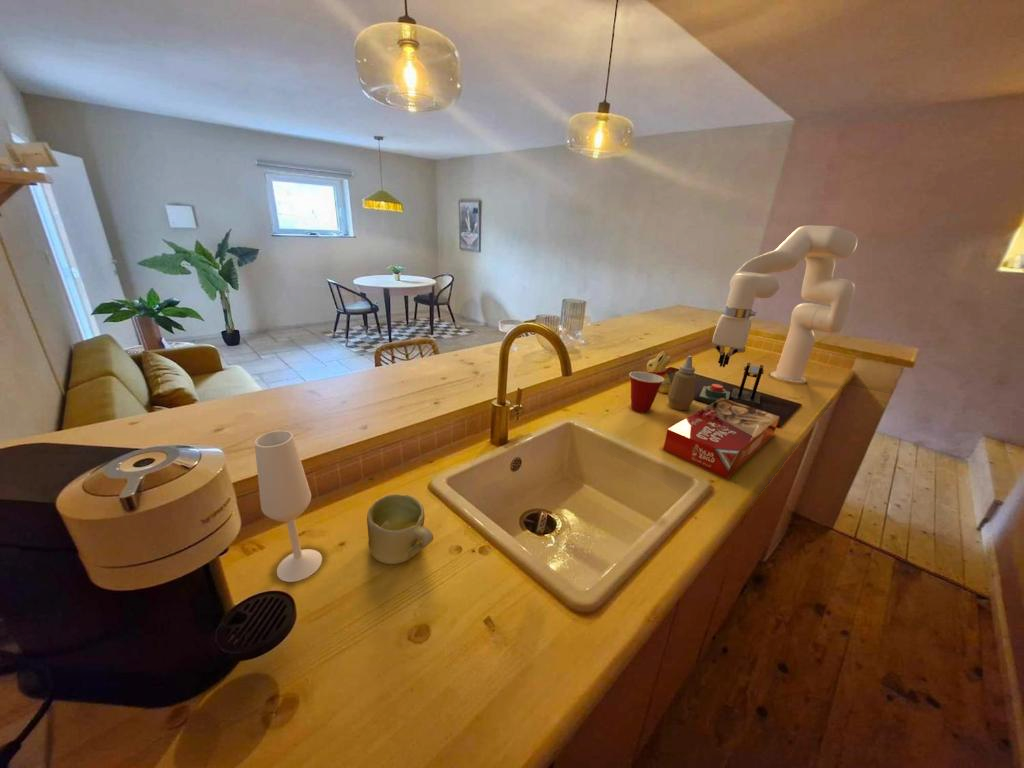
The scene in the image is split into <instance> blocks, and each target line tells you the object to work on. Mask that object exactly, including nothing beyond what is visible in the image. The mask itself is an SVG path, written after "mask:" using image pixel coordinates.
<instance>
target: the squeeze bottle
mask: <svg viewBox="0 0 1024 768" xmlns="http://www.w3.org/2000/svg"><path fill="white" fill-rule="evenodd" d="M695 371H696V367H694V366H693V356H692V355H688V356H687V357H686V359H685V361H684V364H681V365H679V368H678V371H676V372H675V373H674V375H673V378H672V381H671V383H670V390H669V392H668V393H667V399H668V406H669V407H670V408H672V409H674V410H678V411H687V410H688V409H689V408H690V407H691V405H692V403H693V402H694V398H695V392H696V391H695V390H696V384H697V383H696V382H697V375H696V374H695Z"/></svg>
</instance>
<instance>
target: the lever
mask: <svg viewBox="0 0 1024 768" xmlns="http://www.w3.org/2000/svg"><path fill="white" fill-rule="evenodd" d="M759 367H760V366H756V365H750V368H749V372H748V375H747V377H751V378H755V379H756V377H757V374H758V370H759ZM744 372H745V370H743V376H744Z"/></svg>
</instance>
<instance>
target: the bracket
mask: <svg viewBox="0 0 1024 768" xmlns="http://www.w3.org/2000/svg"><path fill="white" fill-rule="evenodd" d="M758 367H759V368H758V371H757V377H756V378H755V379H754V383H753V387H752V390H751V391H750V390H749V391H748V390H744V387H745V385H746V381H747V378H748V376H747V375H748V372H750V368H751V362H747V363H746V366H744V368H743V374H744V375H743V376H742V380H741V382H740V387H739V388H735V387H733V388H732V392H731V394H730V398H731V399H734V400H739V401H743V402H747V403H752V404H756V405H761V393H758V392H757V390H758V387H759V383H760V381H761V377H762V375H764V373H765V369H764V365H763V364H760V365H759V366H758ZM744 371H745V372H744Z"/></svg>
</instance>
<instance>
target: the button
mask: <svg viewBox="0 0 1024 768" xmlns="http://www.w3.org/2000/svg"><path fill="white" fill-rule="evenodd" d="M710 386H711V390H713V391H717V392H722V389H724V386H723V385H722V384H719V383H712V384H711V385H710Z"/></svg>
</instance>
